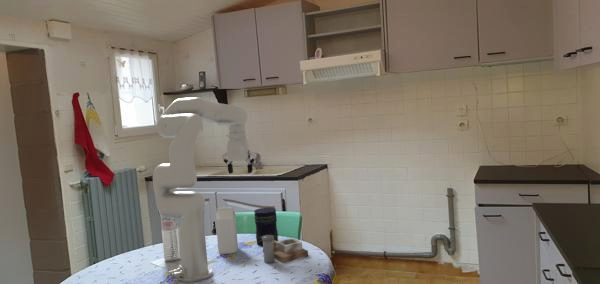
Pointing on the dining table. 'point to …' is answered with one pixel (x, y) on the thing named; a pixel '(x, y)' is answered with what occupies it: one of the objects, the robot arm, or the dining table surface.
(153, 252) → the dining table surface
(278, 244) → the manifold board
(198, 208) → the robot arm
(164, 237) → the water bottle
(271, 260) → the cylinder
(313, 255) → the dining table surface
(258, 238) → the storage jar
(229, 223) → the milk carton
